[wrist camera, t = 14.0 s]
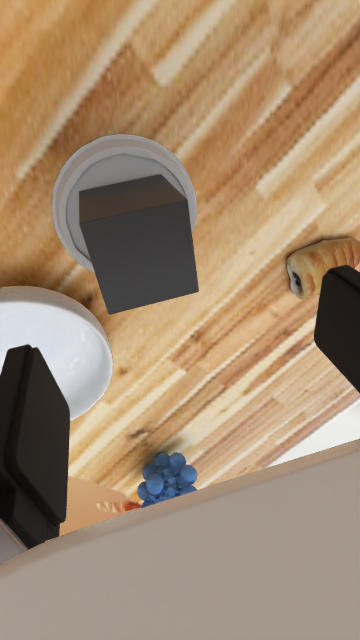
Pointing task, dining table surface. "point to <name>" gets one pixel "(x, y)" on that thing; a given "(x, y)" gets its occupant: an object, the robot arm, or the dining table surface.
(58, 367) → the cereal bowl
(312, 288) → the pastry
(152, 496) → the grapes
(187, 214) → the black block
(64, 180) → the disposable coffee cup
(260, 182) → the dining table surface
